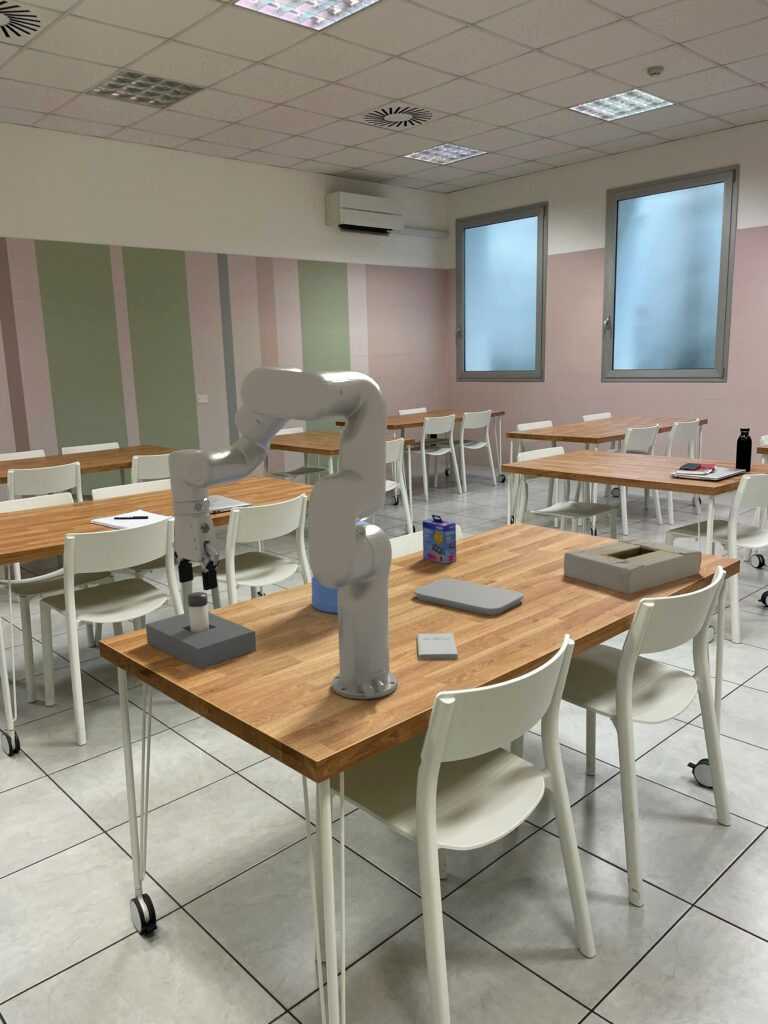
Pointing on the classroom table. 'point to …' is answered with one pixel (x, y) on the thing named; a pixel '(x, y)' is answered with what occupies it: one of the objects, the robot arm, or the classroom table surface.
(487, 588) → the tablet
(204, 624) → the peg
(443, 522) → the ink cartridge box
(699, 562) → the box
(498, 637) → the classroom table surface
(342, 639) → the robot arm
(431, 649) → the external hard drive
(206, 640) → the socket block
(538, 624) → the classroom table surface
